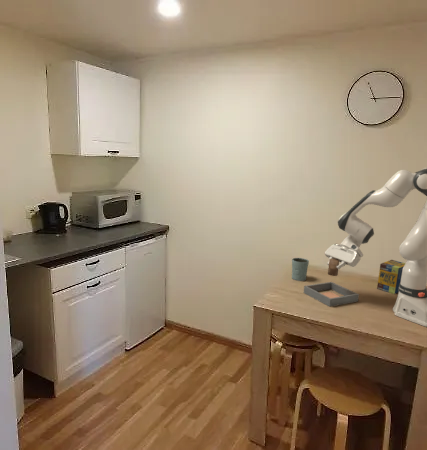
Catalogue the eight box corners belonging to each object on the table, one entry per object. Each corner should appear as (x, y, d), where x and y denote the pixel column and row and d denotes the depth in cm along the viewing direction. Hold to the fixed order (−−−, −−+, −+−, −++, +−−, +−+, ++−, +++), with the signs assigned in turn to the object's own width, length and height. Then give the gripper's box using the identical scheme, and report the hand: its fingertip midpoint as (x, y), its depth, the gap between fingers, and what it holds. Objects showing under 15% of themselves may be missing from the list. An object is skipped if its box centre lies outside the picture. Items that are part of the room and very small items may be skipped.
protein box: (376, 288, 214) (380, 263, 211) (387, 283, 224) (391, 259, 221) (394, 294, 207) (398, 268, 204) (405, 288, 217) (409, 263, 214)
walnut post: (339, 275, 195) (341, 260, 193) (332, 276, 192) (334, 261, 191) (332, 272, 199) (334, 258, 197) (325, 273, 197) (327, 259, 195)
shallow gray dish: (357, 301, 194) (358, 294, 193) (329, 306, 185) (330, 299, 184) (330, 288, 211) (331, 281, 211) (303, 292, 202) (304, 285, 202)
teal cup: (295, 281, 220) (296, 262, 217) (287, 276, 229) (289, 257, 227) (310, 281, 222) (312, 262, 220) (301, 275, 232) (303, 257, 230)
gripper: (331, 239, 205) (316, 257, 202) (360, 248, 187) (344, 268, 184) (336, 246, 208) (321, 264, 205) (365, 256, 190) (349, 276, 187)
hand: (332, 266), depth 195 cm, fingers closed on walnut post, 5 cm apart
